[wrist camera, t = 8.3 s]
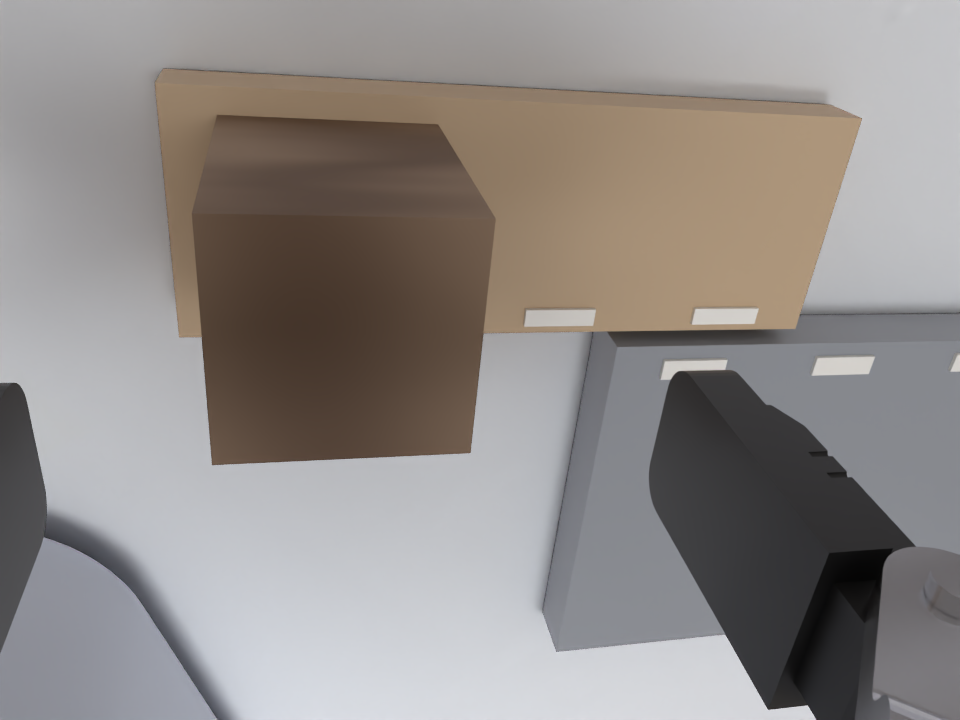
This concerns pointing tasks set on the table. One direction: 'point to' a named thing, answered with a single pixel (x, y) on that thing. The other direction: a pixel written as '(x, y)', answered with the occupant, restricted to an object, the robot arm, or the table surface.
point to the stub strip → (579, 189)
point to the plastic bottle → (89, 650)
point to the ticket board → (778, 382)
